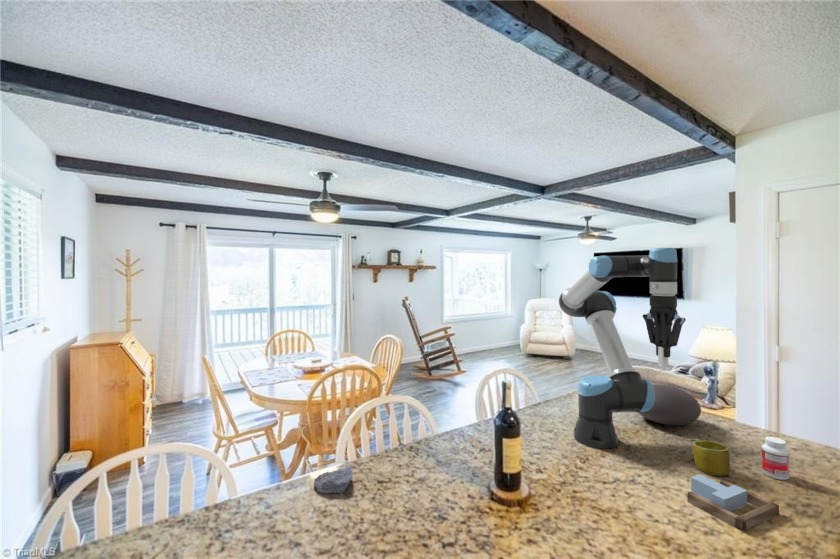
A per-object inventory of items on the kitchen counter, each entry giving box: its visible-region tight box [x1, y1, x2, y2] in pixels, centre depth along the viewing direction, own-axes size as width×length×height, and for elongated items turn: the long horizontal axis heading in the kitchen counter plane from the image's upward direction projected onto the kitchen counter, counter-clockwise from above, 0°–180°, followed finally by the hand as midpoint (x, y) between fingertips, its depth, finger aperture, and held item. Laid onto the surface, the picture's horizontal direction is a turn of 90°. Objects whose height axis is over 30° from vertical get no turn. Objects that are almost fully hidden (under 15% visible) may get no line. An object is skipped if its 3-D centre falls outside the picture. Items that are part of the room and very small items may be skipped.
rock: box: [313, 464, 354, 495], centre depth 110 cm, size 12×5×10 cm
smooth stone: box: [638, 383, 702, 426], centre depth 155 cm, size 25×25×15 cm
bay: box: [687, 479, 780, 532], centre depth 98 cm, size 13×16×2 cm
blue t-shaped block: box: [690, 474, 748, 513], centre depth 102 cm, size 10×10×4 cm
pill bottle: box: [761, 436, 790, 481], centre depth 113 cm, size 6×6×11 cm
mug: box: [690, 438, 731, 477], centre depth 118 cm, size 12×10×10 cm
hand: (663, 366), depth 120 cm, fingers closed
